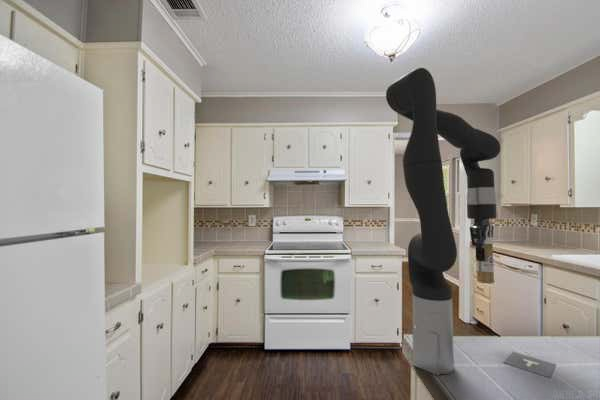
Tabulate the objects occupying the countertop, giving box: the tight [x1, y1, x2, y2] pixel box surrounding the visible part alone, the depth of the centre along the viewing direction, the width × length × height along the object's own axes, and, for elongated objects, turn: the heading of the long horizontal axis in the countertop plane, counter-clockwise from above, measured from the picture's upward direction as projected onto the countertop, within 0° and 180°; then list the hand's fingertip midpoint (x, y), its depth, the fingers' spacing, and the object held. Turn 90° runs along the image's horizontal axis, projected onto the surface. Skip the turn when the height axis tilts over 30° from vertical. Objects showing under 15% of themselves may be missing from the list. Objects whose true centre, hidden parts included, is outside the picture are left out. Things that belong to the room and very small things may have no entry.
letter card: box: [503, 351, 557, 379], centre depth 73 cm, size 9×9×1 cm
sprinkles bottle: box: [475, 237, 495, 284], centre depth 85 cm, size 5×5×13 cm
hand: (483, 259), depth 85 cm, fingers closed on sprinkles bottle, 4 cm apart
